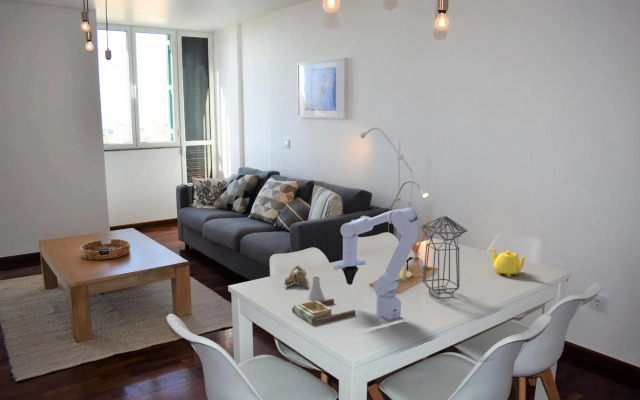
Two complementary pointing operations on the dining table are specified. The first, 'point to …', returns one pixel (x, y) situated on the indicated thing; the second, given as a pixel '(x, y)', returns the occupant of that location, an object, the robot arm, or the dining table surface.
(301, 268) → the ceramic sculpture
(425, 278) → the geometric lantern
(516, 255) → the teapot
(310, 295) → the flask
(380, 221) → the robot arm
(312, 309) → the light wooden drawer
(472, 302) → the dining table surface
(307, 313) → the bay
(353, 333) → the dining table surface
